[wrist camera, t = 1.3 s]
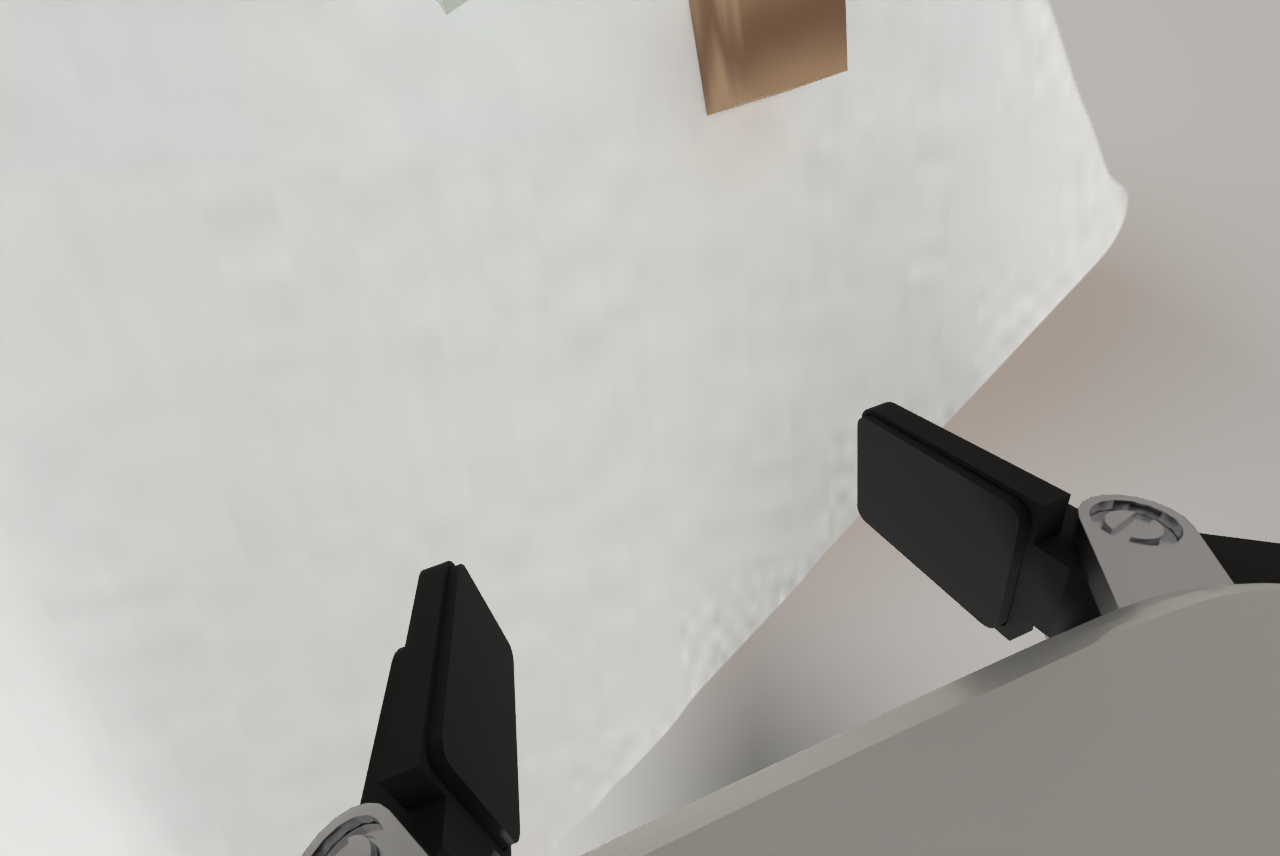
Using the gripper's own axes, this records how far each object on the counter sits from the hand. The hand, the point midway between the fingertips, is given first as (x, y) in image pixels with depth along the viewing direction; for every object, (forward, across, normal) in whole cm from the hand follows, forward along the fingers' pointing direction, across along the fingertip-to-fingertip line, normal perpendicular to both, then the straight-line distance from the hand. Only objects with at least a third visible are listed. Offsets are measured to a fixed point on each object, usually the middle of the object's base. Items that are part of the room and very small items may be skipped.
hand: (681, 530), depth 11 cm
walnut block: (+26, -16, -12) cm, 33 cm away
